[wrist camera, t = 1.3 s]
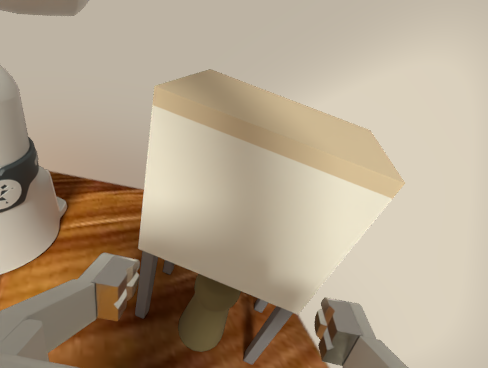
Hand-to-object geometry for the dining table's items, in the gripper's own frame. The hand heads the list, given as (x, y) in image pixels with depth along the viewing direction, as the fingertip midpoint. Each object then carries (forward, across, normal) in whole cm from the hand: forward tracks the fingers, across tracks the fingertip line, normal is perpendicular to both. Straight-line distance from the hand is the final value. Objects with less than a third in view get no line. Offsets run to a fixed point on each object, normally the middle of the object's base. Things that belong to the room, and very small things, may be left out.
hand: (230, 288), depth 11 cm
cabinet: (+17, +2, +22) cm, 28 cm away
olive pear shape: (+15, +2, +23) cm, 27 cm away
